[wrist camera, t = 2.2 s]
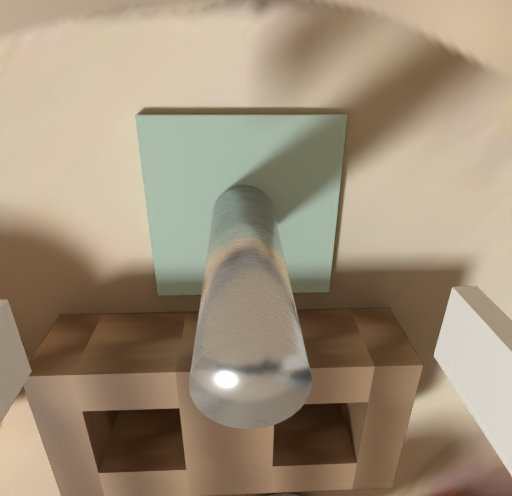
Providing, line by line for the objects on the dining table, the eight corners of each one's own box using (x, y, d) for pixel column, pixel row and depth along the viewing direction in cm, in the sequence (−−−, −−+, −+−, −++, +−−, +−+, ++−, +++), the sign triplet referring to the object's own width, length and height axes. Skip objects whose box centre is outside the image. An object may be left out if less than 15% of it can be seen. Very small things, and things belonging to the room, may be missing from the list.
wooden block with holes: (389, 307, 25) (423, 365, 20) (368, 420, 29) (391, 487, 25) (60, 314, 24) (19, 376, 19) (90, 430, 28) (63, 501, 24)
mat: (345, 114, 19) (347, 115, 19) (327, 288, 24) (328, 292, 24) (137, 114, 19) (135, 115, 19) (158, 291, 24) (157, 295, 23)
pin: (274, 184, 20) (316, 336, 10) (272, 241, 22) (307, 426, 11) (211, 185, 20) (184, 339, 10) (214, 241, 22) (192, 430, 11)
